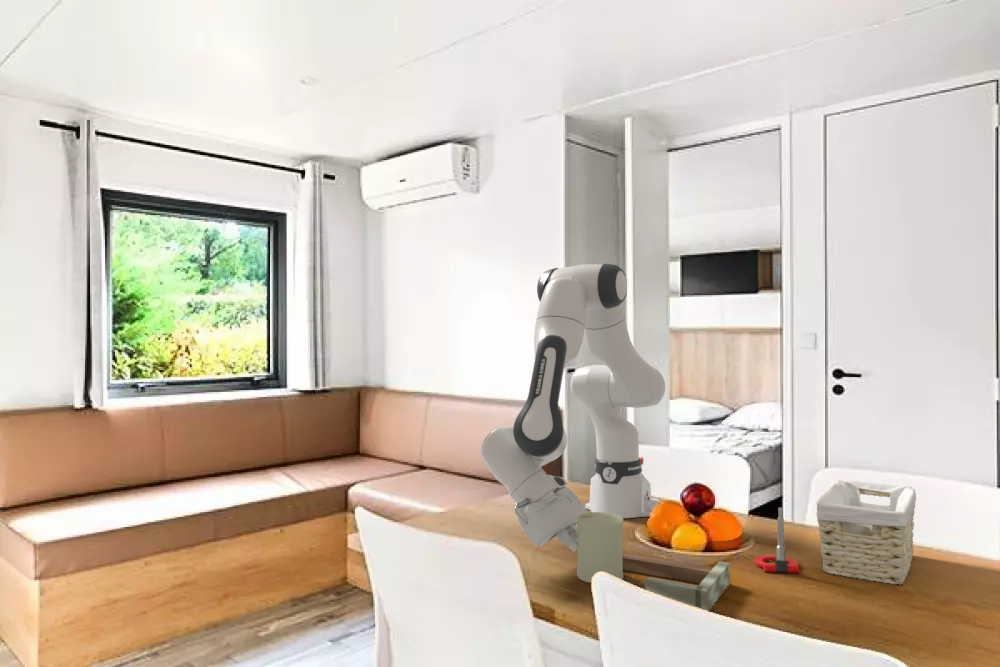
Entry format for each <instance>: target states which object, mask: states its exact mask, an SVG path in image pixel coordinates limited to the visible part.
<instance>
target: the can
mask: <svg viewBox="0 0 1000 667" xmlns="http://www.w3.org/2000/svg"><path fill="white" fill-rule="evenodd" d="M576 526H577V530H578V550H577V565H576V566H577V568H576V569H577V570H576V577H577V578H578V579H579V580H580V581H583V582H585V583H589V584H591V583H590V579H591V577H592V576H593V575H594V574H595V573H596V572H598V571H605V572H608V573H610V574H612V575H614V576H616V577H619V578H622V580H623V579H624V570H623V554H624V553H623V549H624V548H623V545H624V544H623V541H624V539H623V538H624V537H623V536H624V533H623V532H624V518H622V517H620V516H618V515H615V514H611V513H603V512H591V511H590V512H587V513H585V514H581V515H579V516H578V517H577V525H576Z"/></svg>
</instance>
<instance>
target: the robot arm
mask: <svg viewBox="0 0 1000 667" xmlns="http://www.w3.org/2000/svg"><path fill="white" fill-rule="evenodd" d="M626 276H627V275H626V273H625V271H624V270H623V269H622V268H621V266H620V265H617V264H613V263H612V264H611V263H603V264H598V263H597V264H596V263H595V264H594V263H593V264H591V263H590V264H589V263H588V264H587V263H584V264H578V265H571V266H566V267H560V268H558V267H555V268H551V269H548V270H547V269H546V271H544V272H543V273H542V274H541V275H540V277H539V279H538V281H537V285H536V293H537V298H538V302H539V306H538V310H537V312H536V313H537V314H536V320H535V324H534V325H535V326H534V334H533V335H534V336H533V338H534V340H533V341H534V342H533V344H534V346H533V347H534V348H533V349H534V362H533V363H534V364H533V368H532V375H531V379H530V380H531V381H530V384H529V391H528V395H527V399H526V401H525V403H524V405H523V406H522V409H521V410H520V411H519V413H518V414H517V416H516V417H515V420H514V424H513V425H504V426H503V425H499V426H497V427H495V428H494V429H493V430H492V431H490V433H489V434H488V435H486V437H485V438H484V440H483V442H482V444H481V447H480V454H481V457H482V459H483V461H484V463H485V465H486V466H487V468H488V469H489V471H490V472H491V473H492V474H493V476H494V478H495V479H496V480H497V481H498V482H499V483H500V484H502V485H503V486H504V487H505V488H506V489H507V492H508V494H509V496H510V498H511V500H513V502H514V503H515V504H514V513H515V515H516V516H517V521H518V523H519V525H520V527H521V528H522V530H523V531H524V533H525V535H526V536H527V538H528V539H529V540H530V542H531V543H532V544H533V545H535V546H536V547H541V546H542V545H544V544H546V543H547V542H549V541H551V540H552V539H555V538H556V539H557V540H558V541H559V542H560V543H561V544H563V545H565V546H567V547H568V548H569V549H570V551H571V552H573V553H575V552H578V527H576V526H578V525H577V517H578V516H579V515H581V514H585V513H588V510H589V511H590V513H591V512H603V513H611V514H615V515H618V516H620V517H622V518H623V519H631V518H640V517H641V518H642V517H644V518H645V517H650V516H649V515H650V513H651V512H652V509H653V508H654V507H655V505H656V504H658V502H659V503H660V499H658V498H655V497H652V488H651V482H650V481H649V480H648V479H647V478H646V477H645V475H644V474H643V473H642V472H643V469H642V465H644V457H643V456H639V453H640V452H639V449H640V448H639V447H640V446H639V445H640V444H639V443H640V442H639V431H638V429H637V427H636V426H635V425H634V424H633V423H632V422H630V421H628V420H627V419H626V418H624V417H623V416H622V414H621V413H620V410H619V408H638V409H641V408H647V407H653V406H657V405H658V404H659V403H660V402H661V401H662V399H663V397H664V395H665V391H666V382H665V379H664V377H663V375H662V373H661V372H660V371H659V370H658V369H657V368H655V367H653V366H651V365H650V364H649V363H647V361H646V360H644V359H643V357H642V356H640V354H639V353H638V352H637V350H636V349H635V348H634V345H633V343H632V341H631V338H630V334H629V329H628V326H627V321H626V316H625V311H624V308H623V302H624V301H625V300H626V297H627V294H628V280H627V277H626ZM583 339H584V340H585V346H586V350H587V351H588V352H589V354H590V355H591V356H592V357H593V358H595V359H597V360H598V361H600V362H602V363H603V364H593V365H592V364H591V365H586V366H585V365H584V366H582V367H579V368H577V369H576V370H575V371H574V373H573V374H572V376H571V379H570V392H571V393H572V396H573V398H574V399H575V401H576V402H578V403H579V404H580V405H581V406H582V407H583V408H584V409H585V410H586V412H587V414H588V416H589V417H590V419H591V422H592V425H593V427H594V432H595V442H596V443H595V444H596V457H595V459H594V460H595V461H594V468H595V469H594V472H595V474H594V475H593V476H592V477H591V478H590V487H589V492H590V493H589V502H587V503H585V505H584V504H583V502H582V501H581V499H580V498H579V497H578V495H576V494H575V492H574V491H573V490H572V489H571V488H570V487H567V486H568V482H567V480H565V478H564V477H561V476H556V475H551V474H547V472H546V471H545V470H544V469H543V468H542V467H544V466H546V465H548V464H550V463H552V462H553V461H555V460H557V459H558V458H560V457H561V456H562V454H563V453H564V452H565V450H566V447H567V442H568V439H567V437H568V436H567V433H566V430H565V429H564V425H563V421H562V418H561V415H560V411H559V401H560V393H561V388H562V382H563V375H564V372H565V369H566V367H567V365H568V364H569V363H570V362H572V361H574V360H575V359H576V358H577V357H578V355H579V352H580V350H581V347H582V344H583Z"/></svg>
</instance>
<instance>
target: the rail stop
mask: <svg viewBox="0 0 1000 667" xmlns="http://www.w3.org/2000/svg"><path fill="white" fill-rule="evenodd" d="M730 566H731V565H730V562H726V561H719V560H718V562H717V563H716V565H714V567H709V566H703V565H696V564H690V563H684V562H679V561H678V562H677V561H671V560H665V559H659V558H652V557H648V556H639V555H633V554H629V553H628V554H627V553H623V571H628V572H633V573H638V574H644V575H649V577H647V578H646V579H645V580H644V590H645V589H646V590H649V591H652V592H654V593H657V594H660V595H663V596H666V597H668V598H672V599H675V600H677V601H680V602H683V603H686V604H689V605H693V606H696V607H699V608H702V609H705V610H708V611H709V612H710V611H711V610H712V608H713V607H714V606H715V604H716V603H717V602H718V601H719V599H720V598H719V597H721V596H722V595H723V594H724V593H725V591H726V590H727V588H728V587H729V586H730V584H731V580H730V579H731V576H730V574H731V571H730ZM650 576H654V577H650ZM655 576H656V577H655ZM658 577H661V578H658ZM666 577H668V579H672V578H676V579H675V580H678V579H682V580H681V581H684V580H688V581H687V582H689V581H692V582H691V583H695V582H697V583H696V584H691V583H685V582H680V581H675V580H668V579H663V578H666ZM697 584H698V585H697ZM727 586H728V587H727ZM725 589H726V590H725ZM724 590H725V591H724ZM722 593H723V594H722ZM721 594H722V595H721ZM718 598H719V599H718ZM716 601H717V602H716ZM715 602H716V603H715ZM714 603H715V604H714ZM713 605H714V606H713ZM712 606H713V607H712ZM711 607H712V608H711ZM710 609H711V610H710Z"/></svg>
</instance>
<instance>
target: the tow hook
mask: <svg viewBox="0 0 1000 667" xmlns="http://www.w3.org/2000/svg"><path fill="white" fill-rule="evenodd" d="M777 512H778V517H777V518H776V520H777V522H776V523H777V524H776V525H777V546H776V555H769V554H767V555H758V556H757V557H755V558H754V564H755V565H756V566H757V567H760V568H761V569H762V568H763V572H764V573H776V572H779V573H778V574H800V566H799V562H798V561H797V560H796V559H793V558H790V557H786V546H785V528H784V527H785V526H784V524H785V523H784V522H785V521H784V517H783V507H778V509H777ZM769 560H775V561H774V564H773V563H769V562H770V561H769ZM764 561H765V562H764Z"/></svg>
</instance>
